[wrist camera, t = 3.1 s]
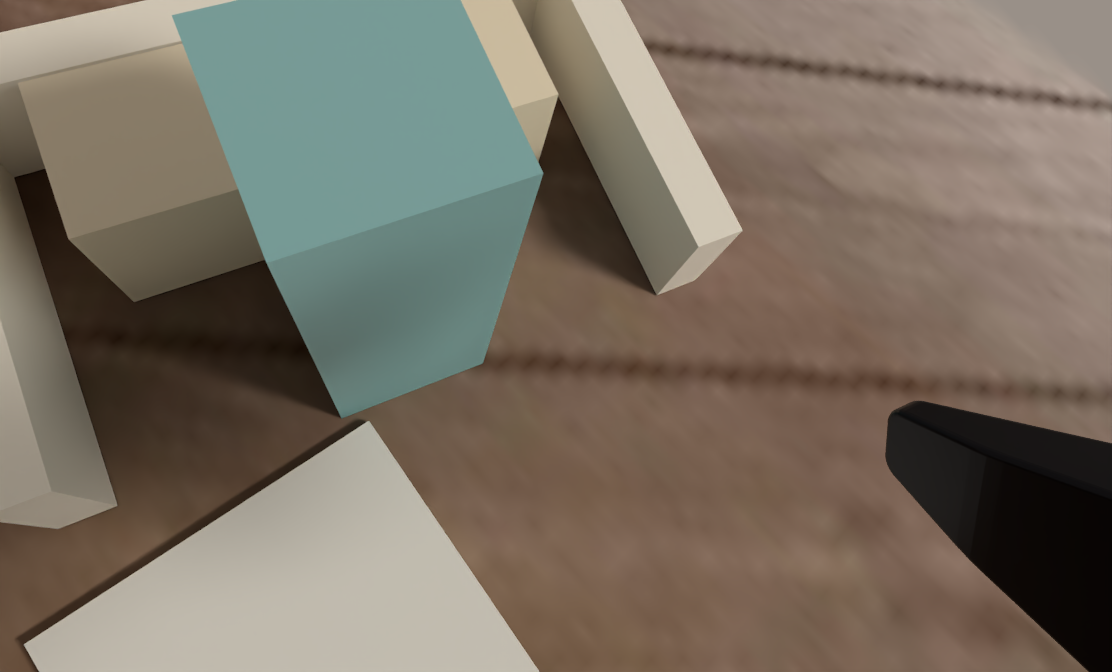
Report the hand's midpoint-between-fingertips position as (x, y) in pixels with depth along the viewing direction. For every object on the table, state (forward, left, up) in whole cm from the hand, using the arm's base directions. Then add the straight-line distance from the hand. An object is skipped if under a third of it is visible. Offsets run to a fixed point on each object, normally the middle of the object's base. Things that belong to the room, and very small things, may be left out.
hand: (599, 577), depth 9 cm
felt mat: (-4, +4, -13) cm, 15 cm away
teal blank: (+6, +5, -13) cm, 16 cm away
